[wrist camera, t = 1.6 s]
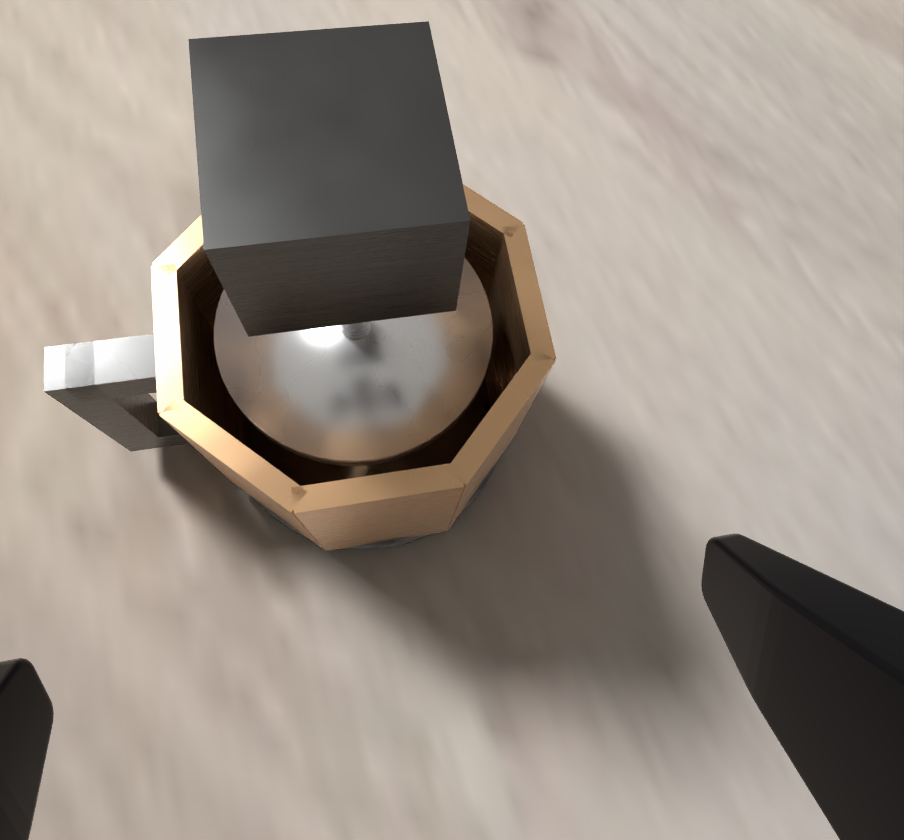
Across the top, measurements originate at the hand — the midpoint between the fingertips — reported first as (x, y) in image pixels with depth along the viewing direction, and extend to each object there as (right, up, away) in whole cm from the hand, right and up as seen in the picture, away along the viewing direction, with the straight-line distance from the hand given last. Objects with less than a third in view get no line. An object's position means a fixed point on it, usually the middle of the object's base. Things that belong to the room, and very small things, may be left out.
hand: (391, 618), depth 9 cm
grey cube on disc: (-2, +5, +9) cm, 11 cm away
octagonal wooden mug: (-4, +3, +15) cm, 16 cm away
